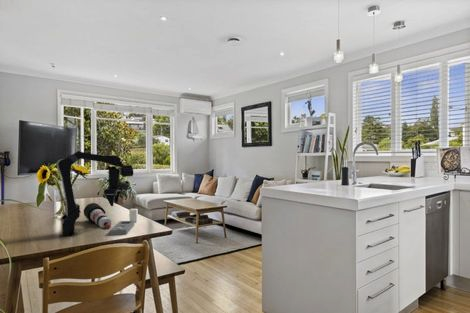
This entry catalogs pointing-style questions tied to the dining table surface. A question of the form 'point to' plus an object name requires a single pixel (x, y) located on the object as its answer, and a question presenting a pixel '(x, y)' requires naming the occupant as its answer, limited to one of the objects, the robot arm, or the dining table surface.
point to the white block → (134, 215)
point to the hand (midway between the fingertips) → (114, 204)
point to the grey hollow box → (122, 228)
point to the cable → (97, 215)
